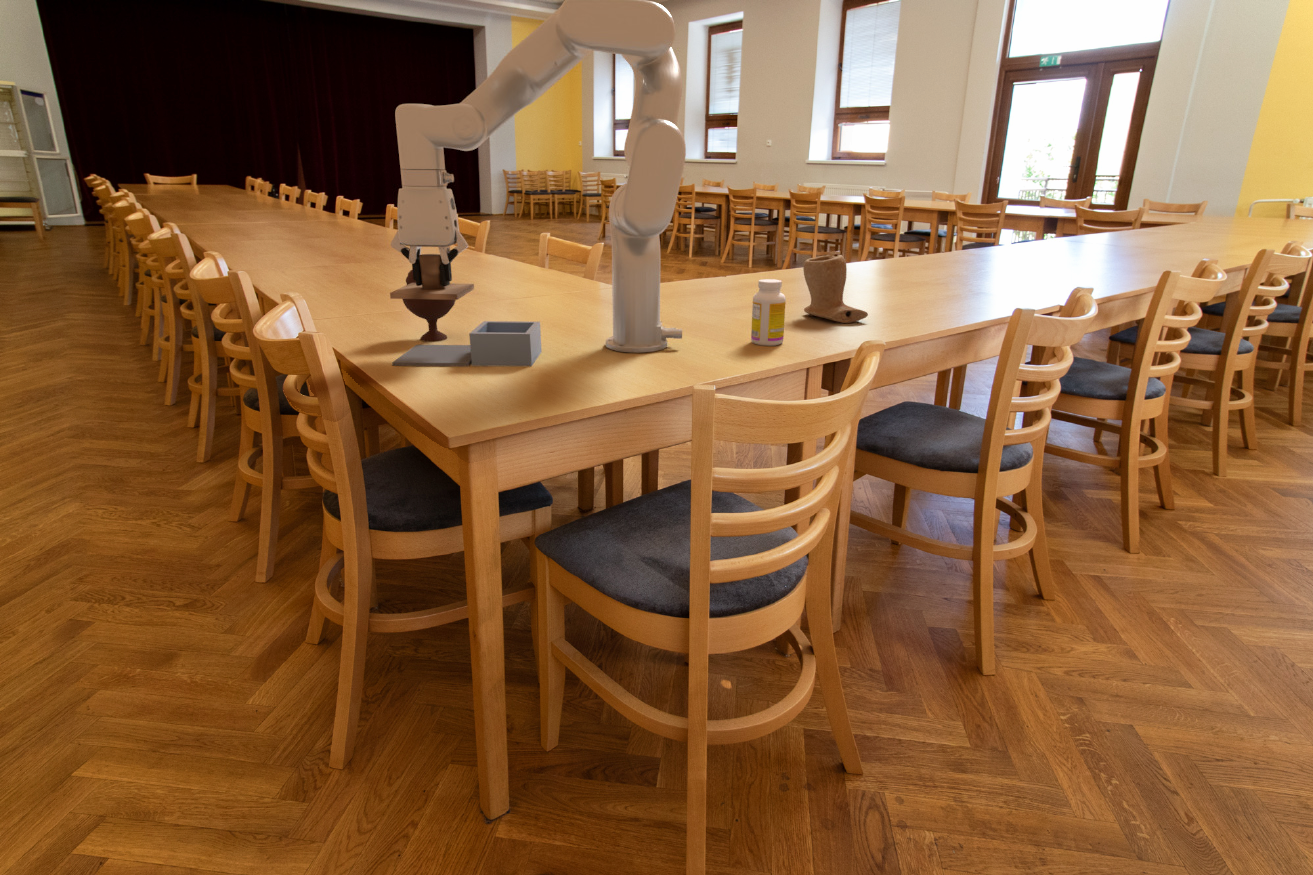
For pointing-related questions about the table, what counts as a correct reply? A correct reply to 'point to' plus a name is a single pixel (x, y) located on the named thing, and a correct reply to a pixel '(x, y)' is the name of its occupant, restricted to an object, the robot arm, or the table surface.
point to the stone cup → (829, 289)
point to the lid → (431, 283)
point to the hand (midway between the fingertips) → (433, 284)
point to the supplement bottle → (768, 313)
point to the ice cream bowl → (429, 312)
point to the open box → (505, 343)
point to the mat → (436, 356)
